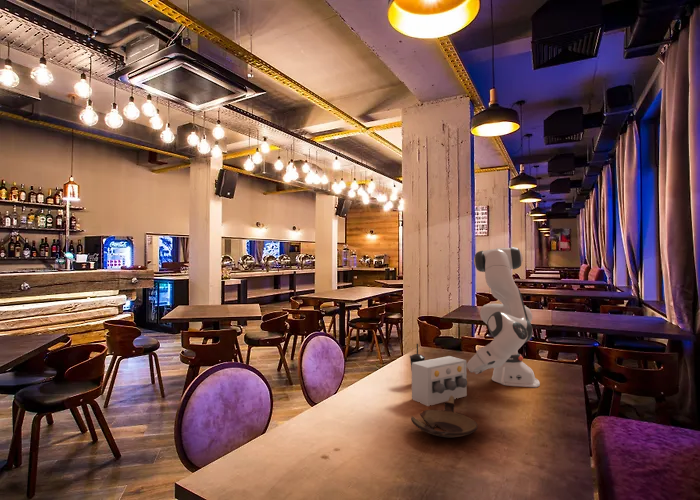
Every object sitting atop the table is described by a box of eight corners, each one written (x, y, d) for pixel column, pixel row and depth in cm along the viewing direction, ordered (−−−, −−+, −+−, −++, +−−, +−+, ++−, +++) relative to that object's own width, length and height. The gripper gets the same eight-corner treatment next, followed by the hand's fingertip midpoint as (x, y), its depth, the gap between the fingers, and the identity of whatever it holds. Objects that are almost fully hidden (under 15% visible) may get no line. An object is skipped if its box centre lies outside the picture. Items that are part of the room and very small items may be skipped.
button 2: (456, 389, 168) (456, 380, 168) (449, 391, 166) (449, 381, 166) (451, 387, 171) (451, 378, 171) (444, 389, 168) (444, 380, 169)
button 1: (467, 387, 172) (467, 377, 172) (461, 388, 170) (460, 379, 170) (462, 385, 174) (461, 376, 174) (455, 386, 172) (455, 377, 172)
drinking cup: (424, 382, 196) (424, 342, 197) (426, 386, 189) (425, 345, 190) (409, 381, 197) (409, 342, 198) (410, 386, 189) (410, 345, 190)
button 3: (444, 392, 164) (444, 383, 164) (438, 394, 162) (437, 384, 162) (439, 390, 167) (439, 381, 167) (432, 392, 165) (432, 382, 165)
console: (467, 396, 175) (467, 360, 176) (428, 406, 162) (428, 368, 163) (450, 389, 184) (449, 355, 185) (411, 399, 171) (411, 362, 172)
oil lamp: (397, 435, 135) (397, 412, 136) (442, 411, 157) (442, 392, 157) (455, 457, 120) (455, 431, 120) (496, 427, 141) (496, 406, 142)
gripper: (507, 344, 165) (488, 362, 173) (475, 349, 154) (456, 369, 162) (517, 356, 161) (497, 375, 169) (484, 363, 150) (465, 382, 158)
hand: (477, 372), depth 165 cm, fingers closed
